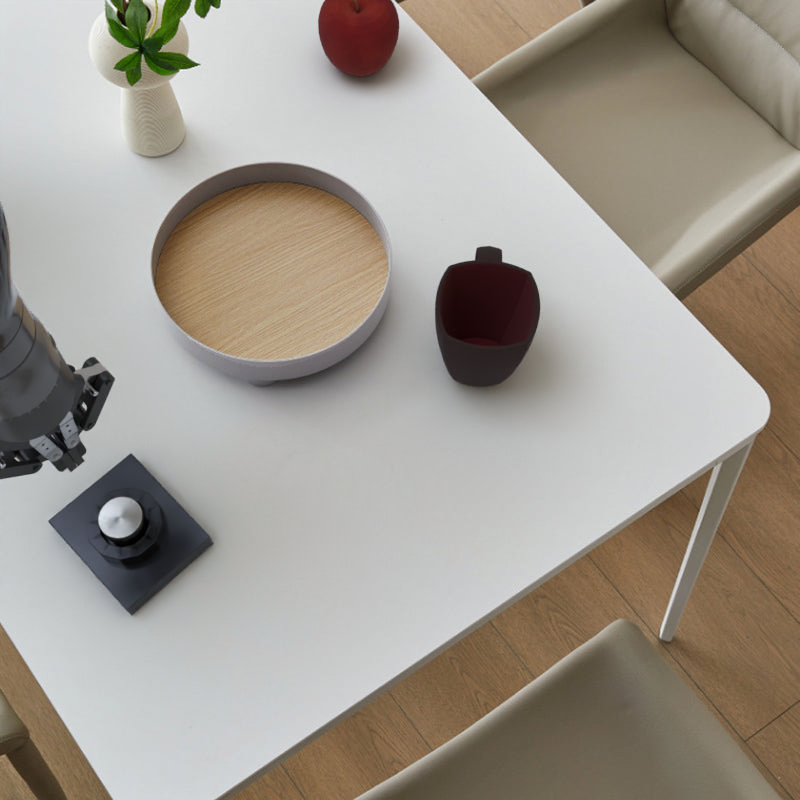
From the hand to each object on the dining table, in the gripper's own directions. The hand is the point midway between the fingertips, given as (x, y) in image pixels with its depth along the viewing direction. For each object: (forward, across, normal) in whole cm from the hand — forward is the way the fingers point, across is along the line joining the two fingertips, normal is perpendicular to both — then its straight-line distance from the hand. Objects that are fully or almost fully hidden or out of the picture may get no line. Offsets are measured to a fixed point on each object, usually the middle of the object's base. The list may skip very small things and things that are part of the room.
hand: (70, 459), depth 85 cm
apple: (+16, -57, -25) cm, 64 cm away
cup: (+15, -39, +12) cm, 44 cm away
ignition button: (+11, 0, +3) cm, 12 cm away
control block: (+15, 0, +3) cm, 15 cm away
